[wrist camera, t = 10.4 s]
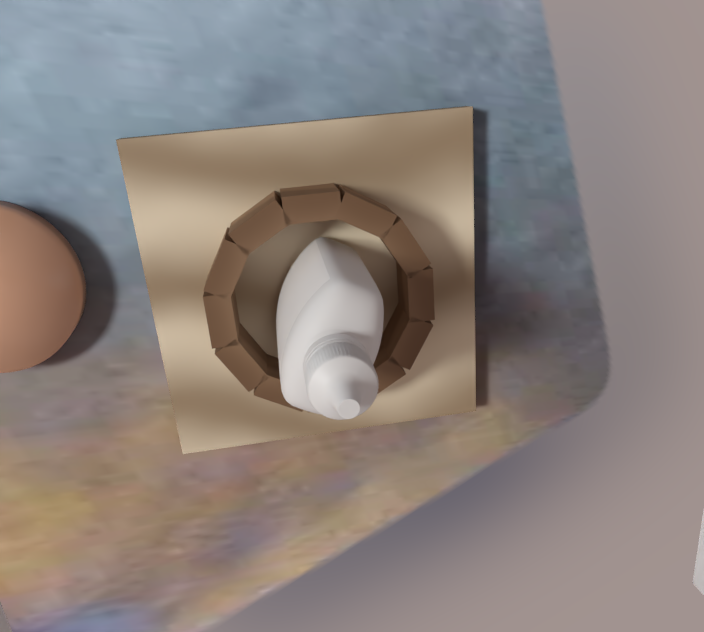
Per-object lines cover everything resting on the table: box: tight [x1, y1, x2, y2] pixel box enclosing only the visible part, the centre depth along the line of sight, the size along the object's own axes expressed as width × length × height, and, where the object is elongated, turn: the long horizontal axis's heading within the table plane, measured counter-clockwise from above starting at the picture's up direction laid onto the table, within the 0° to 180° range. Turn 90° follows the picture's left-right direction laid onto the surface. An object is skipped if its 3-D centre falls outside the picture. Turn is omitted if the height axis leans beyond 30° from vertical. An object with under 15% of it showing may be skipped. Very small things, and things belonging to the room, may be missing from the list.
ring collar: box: [116, 106, 476, 454], centre depth 29 cm, size 16×16×4 cm
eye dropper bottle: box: [276, 237, 384, 420], centre depth 24 cm, size 4×6×12 cm
